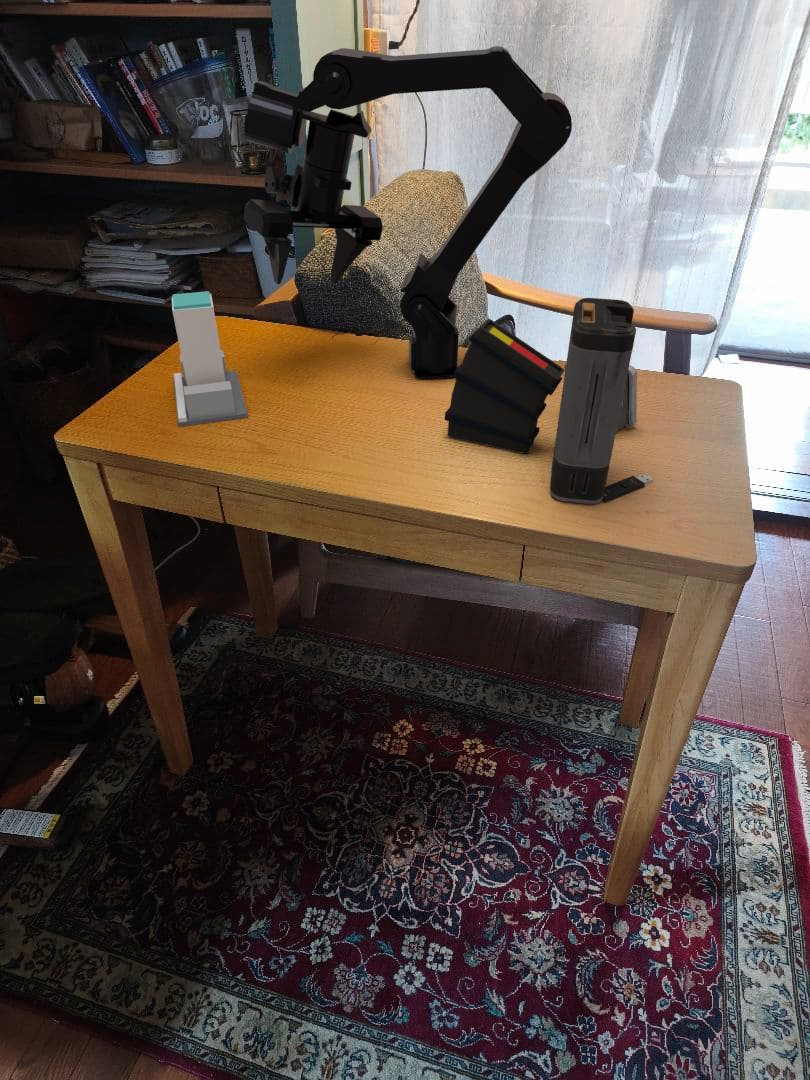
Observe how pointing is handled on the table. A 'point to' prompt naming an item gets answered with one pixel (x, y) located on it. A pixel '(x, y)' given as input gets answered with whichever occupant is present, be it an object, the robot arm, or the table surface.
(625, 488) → the usb flash drive
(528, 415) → the magazine
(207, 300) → the block
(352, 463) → the table surface
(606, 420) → the electronic device
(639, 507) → the table surface
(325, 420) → the table surface
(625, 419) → the electrical switch
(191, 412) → the rail board
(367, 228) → the robot arm
